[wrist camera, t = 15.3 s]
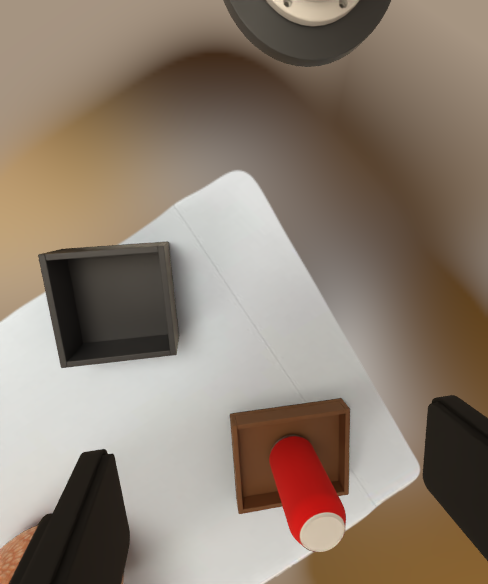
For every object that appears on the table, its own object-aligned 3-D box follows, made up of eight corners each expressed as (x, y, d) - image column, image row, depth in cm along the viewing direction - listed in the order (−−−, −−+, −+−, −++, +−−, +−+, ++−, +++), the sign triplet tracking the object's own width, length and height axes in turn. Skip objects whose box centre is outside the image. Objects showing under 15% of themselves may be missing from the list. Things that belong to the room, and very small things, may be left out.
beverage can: (305, 424, 43) (345, 499, 32) (315, 461, 45) (357, 546, 33) (262, 440, 43) (287, 522, 31) (273, 476, 45) (301, 567, 33)
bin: (168, 241, 36) (163, 245, 31) (179, 336, 39) (176, 355, 33) (61, 248, 35) (37, 254, 29) (80, 346, 37) (60, 368, 32)
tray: (341, 398, 44) (350, 408, 42) (340, 479, 47) (348, 494, 45) (229, 413, 42) (232, 426, 40) (236, 497, 45) (238, 514, 43)
